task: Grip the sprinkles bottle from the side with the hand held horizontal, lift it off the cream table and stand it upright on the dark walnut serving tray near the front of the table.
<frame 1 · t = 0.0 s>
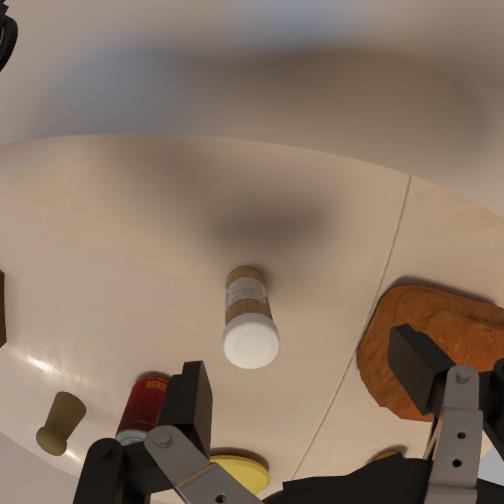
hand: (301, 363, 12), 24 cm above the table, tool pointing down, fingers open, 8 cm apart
bread: (433, 334, 41), on the table
chess piece: (71, 403, 41), on the table
sprinkles bottle: (244, 283, 36), on the table
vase: (226, 468, 47), on the table
soda can: (158, 388, 40), on the table
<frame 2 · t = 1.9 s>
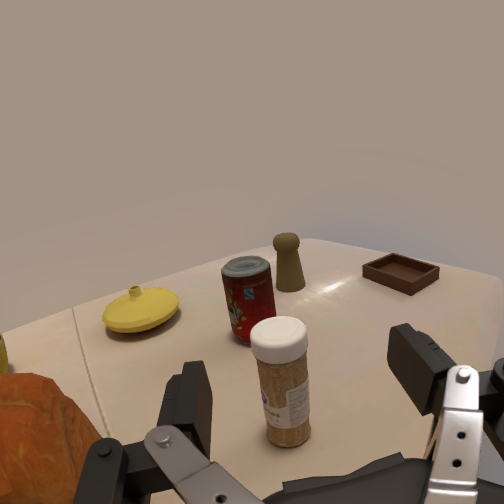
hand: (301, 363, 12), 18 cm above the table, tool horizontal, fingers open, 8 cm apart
chess piece: (290, 286, 64), on the table
serving tray: (400, 277, 58), on the table
sprinkles bottle: (289, 434, 28), on the table
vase: (144, 321, 57), on the table
soda can: (256, 335, 48), on the table
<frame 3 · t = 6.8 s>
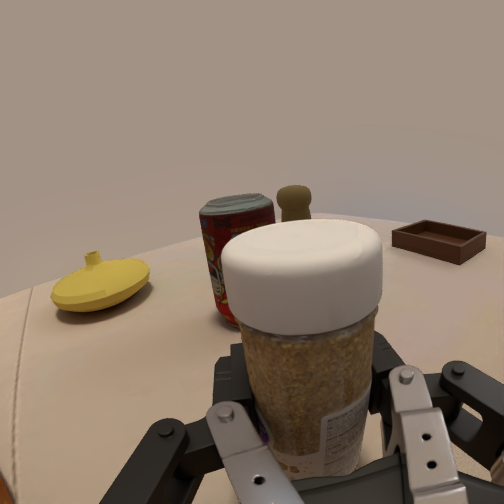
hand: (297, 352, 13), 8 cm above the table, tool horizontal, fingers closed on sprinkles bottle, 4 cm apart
chess piece: (300, 257, 48), on the table
serving tray: (440, 246, 43), on the table
sprinkles bottle: (312, 487, 12), on the table, touching gripper
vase: (104, 300, 41), on the table
soda can: (252, 316, 32), on the table
when the fingers open (8 cm above the table, at t = 17.2 s): sprinkles bottle stays where it is, resting on serving tray.
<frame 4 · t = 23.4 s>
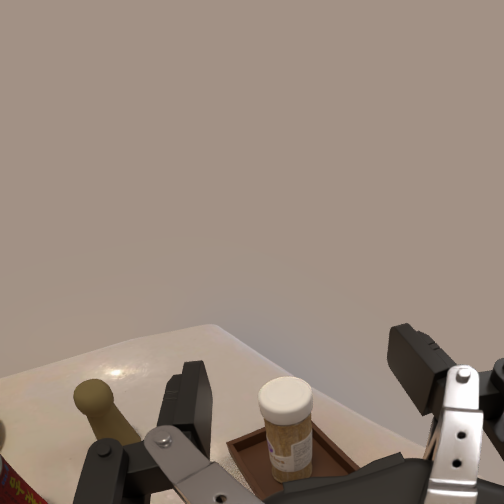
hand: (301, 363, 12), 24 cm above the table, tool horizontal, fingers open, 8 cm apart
chess piece: (121, 445, 33), on the table
serving tray: (294, 473, 28), on the table
sprinkles bottle: (292, 472, 27), resting on serving tray
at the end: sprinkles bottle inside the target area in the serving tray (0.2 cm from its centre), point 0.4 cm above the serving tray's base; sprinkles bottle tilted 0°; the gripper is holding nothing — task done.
